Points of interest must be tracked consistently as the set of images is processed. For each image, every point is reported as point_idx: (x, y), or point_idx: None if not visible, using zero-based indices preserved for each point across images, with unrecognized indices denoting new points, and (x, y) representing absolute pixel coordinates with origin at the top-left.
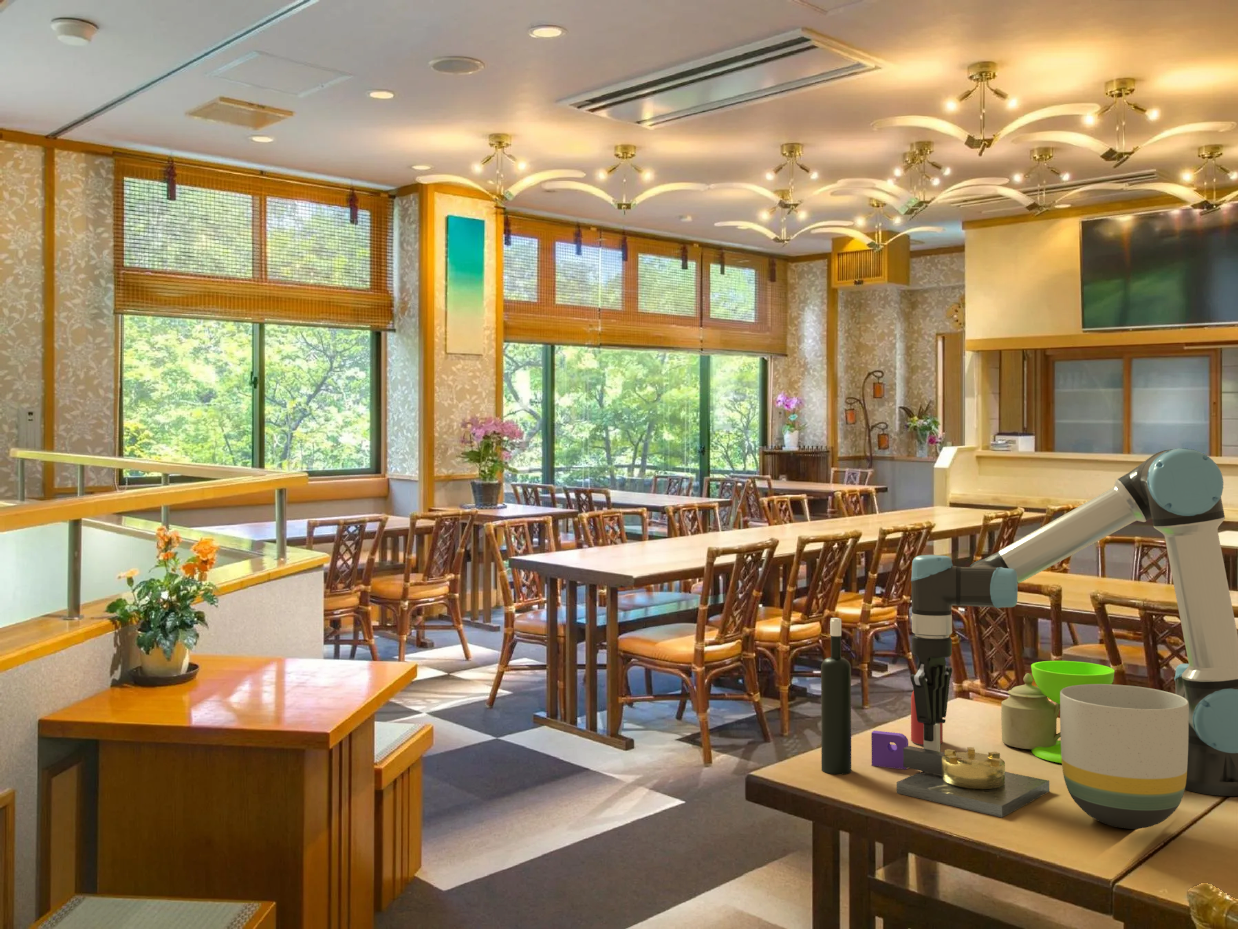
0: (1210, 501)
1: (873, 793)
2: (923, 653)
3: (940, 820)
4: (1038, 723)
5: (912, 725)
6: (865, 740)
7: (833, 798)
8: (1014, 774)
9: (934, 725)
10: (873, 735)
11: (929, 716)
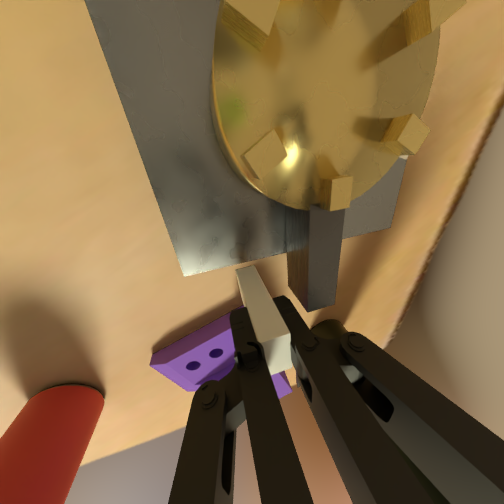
0: None
1: (388, 242)
2: None
3: (485, 55)
4: None
5: (86, 448)
6: (168, 422)
7: (429, 255)
8: (109, 33)
9: (289, 336)
10: (289, 384)
11: (377, 358)
